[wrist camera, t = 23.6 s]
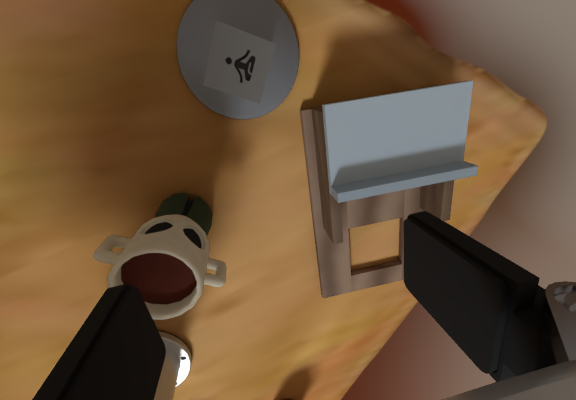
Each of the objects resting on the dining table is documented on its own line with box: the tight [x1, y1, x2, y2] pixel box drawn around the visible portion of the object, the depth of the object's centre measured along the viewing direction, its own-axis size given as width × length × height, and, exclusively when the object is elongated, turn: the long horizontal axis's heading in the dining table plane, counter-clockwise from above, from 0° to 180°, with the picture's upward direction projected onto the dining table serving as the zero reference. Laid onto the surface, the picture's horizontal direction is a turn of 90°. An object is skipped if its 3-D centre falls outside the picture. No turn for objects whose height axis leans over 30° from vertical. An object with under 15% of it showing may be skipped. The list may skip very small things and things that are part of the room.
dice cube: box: [203, 20, 276, 104], centre depth 25 cm, size 5×5×5 cm
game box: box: [300, 107, 454, 298], centre depth 34 cm, size 17×27×5 cm, turn 8°
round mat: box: [177, 0, 299, 119], centre depth 27 cm, size 12×12×1 cm
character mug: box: [93, 193, 226, 320], centre depth 27 cm, size 11×7×13 cm, turn 67°
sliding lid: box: [322, 81, 478, 203], centre depth 27 cm, size 15×9×3 cm, turn 98°
